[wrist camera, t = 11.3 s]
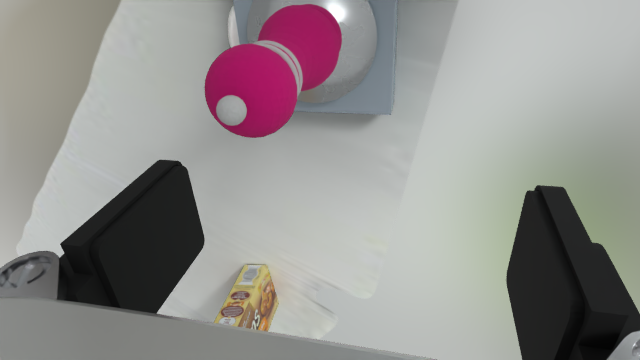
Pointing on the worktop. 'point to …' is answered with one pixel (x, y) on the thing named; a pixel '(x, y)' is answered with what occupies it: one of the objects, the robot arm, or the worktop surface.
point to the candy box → (250, 300)
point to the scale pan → (356, 49)
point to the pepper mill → (273, 70)
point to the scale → (377, 83)
